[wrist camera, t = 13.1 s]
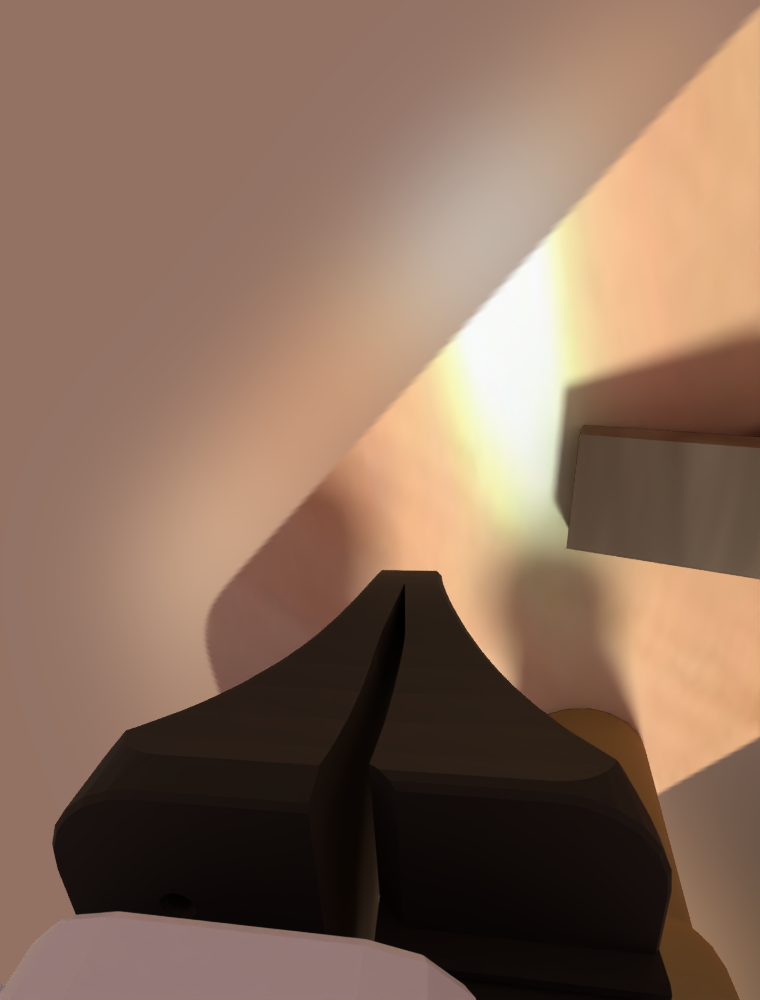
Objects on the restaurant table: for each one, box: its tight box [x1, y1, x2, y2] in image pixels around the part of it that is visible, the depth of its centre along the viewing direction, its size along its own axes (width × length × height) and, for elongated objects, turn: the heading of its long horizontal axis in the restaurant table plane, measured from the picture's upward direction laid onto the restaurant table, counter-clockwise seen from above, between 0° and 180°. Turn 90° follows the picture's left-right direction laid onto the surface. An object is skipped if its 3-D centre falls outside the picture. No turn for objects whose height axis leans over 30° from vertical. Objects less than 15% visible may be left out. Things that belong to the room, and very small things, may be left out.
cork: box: [548, 709, 740, 1000], centre depth 20 cm, size 6×6×11 cm
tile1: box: [567, 425, 760, 579], centre depth 18 cm, size 2×4×7 cm
